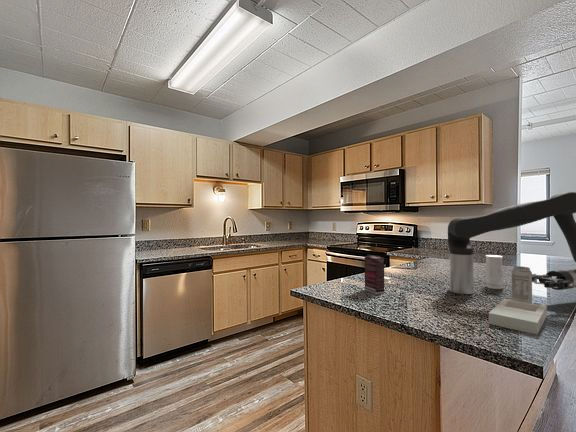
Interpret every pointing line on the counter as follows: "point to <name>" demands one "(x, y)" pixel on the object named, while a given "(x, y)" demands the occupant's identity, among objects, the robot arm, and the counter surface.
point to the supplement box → (374, 274)
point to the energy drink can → (522, 284)
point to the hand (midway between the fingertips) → (532, 282)
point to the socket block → (518, 316)
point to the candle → (494, 271)
